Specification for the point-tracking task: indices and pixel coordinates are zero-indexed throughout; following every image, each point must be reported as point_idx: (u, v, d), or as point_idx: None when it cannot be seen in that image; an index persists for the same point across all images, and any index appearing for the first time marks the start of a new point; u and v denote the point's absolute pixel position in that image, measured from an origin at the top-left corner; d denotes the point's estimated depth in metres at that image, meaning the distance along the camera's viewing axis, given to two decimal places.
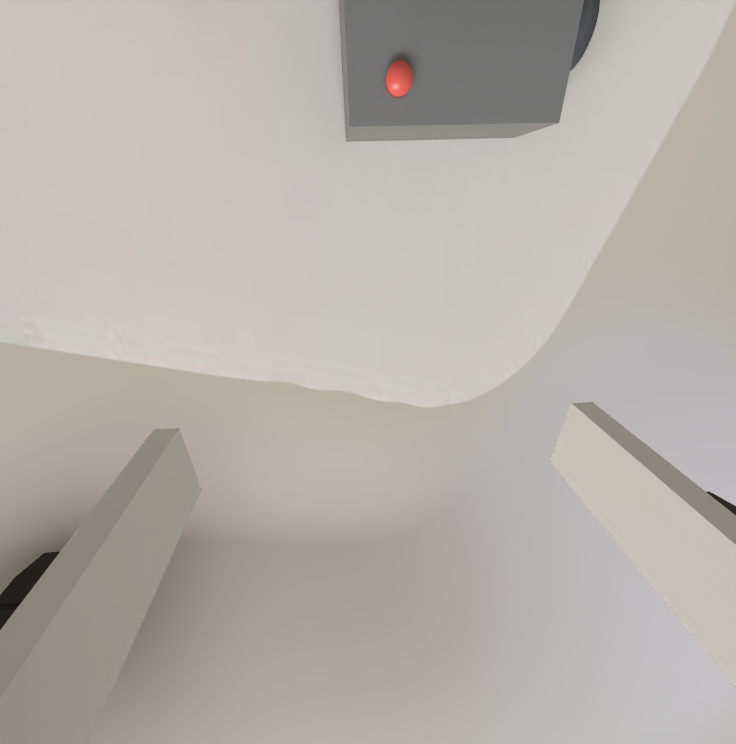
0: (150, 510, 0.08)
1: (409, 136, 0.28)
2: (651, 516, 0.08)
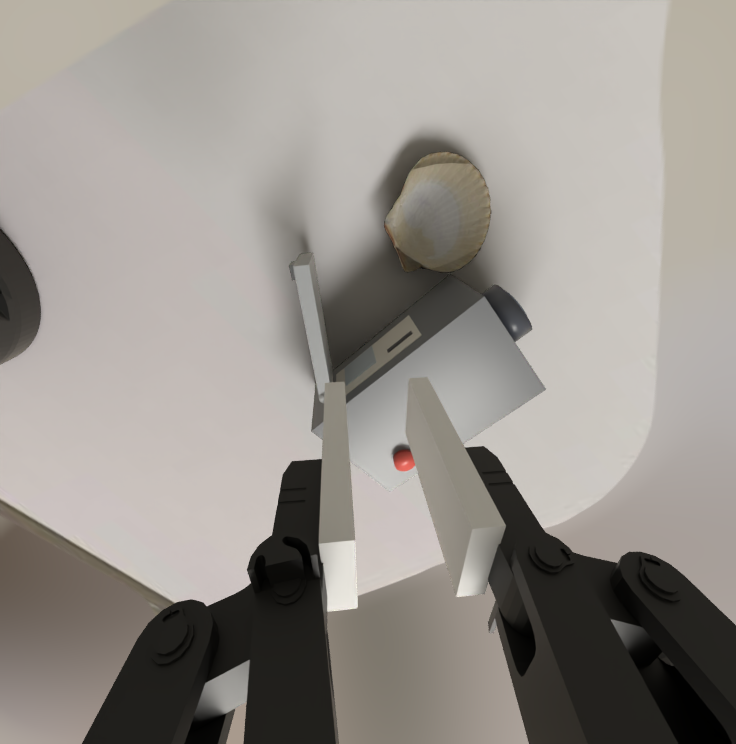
0: None
1: None
2: (431, 466, 0.10)
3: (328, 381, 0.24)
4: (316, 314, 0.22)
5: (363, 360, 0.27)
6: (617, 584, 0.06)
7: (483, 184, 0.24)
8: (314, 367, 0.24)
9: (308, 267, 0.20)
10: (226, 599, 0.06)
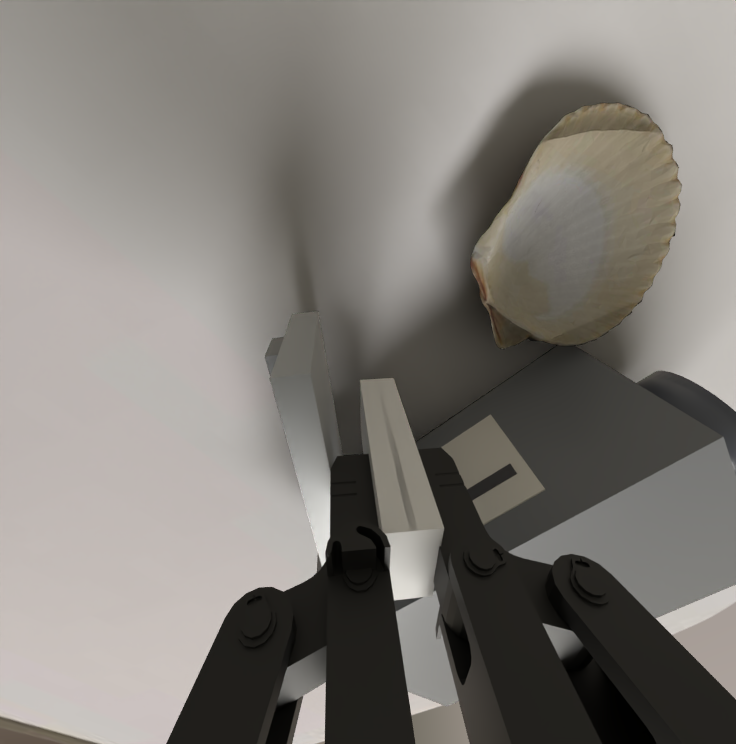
0: None
1: None
2: None
3: None
4: (327, 468, 0.10)
5: None
6: (550, 591, 0.06)
7: (670, 177, 0.12)
8: (321, 553, 0.11)
9: (309, 378, 0.08)
10: (295, 586, 0.06)
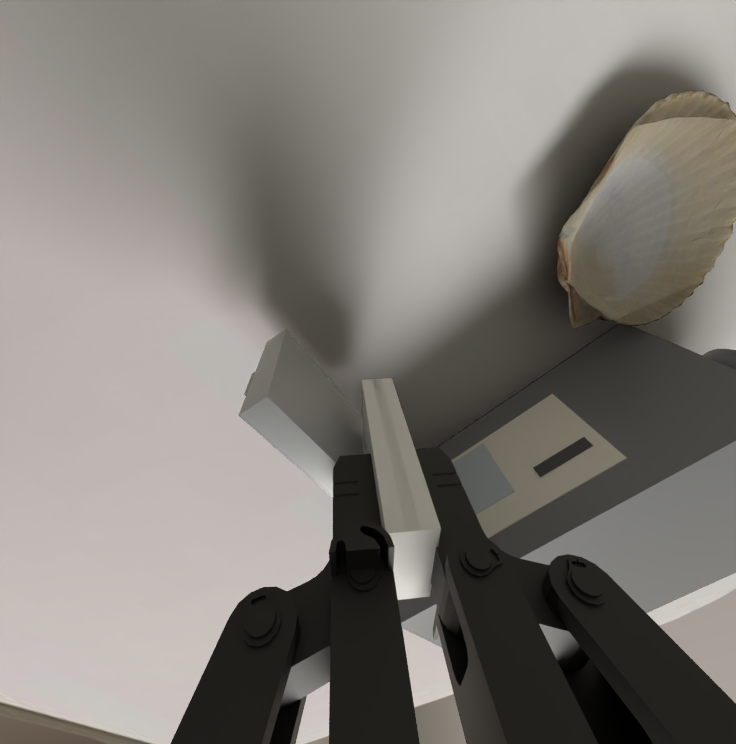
0: None
1: None
2: None
3: None
4: None
5: (476, 475, 0.15)
6: (547, 592, 0.06)
7: None
8: None
9: (270, 401, 0.09)
10: (299, 586, 0.06)
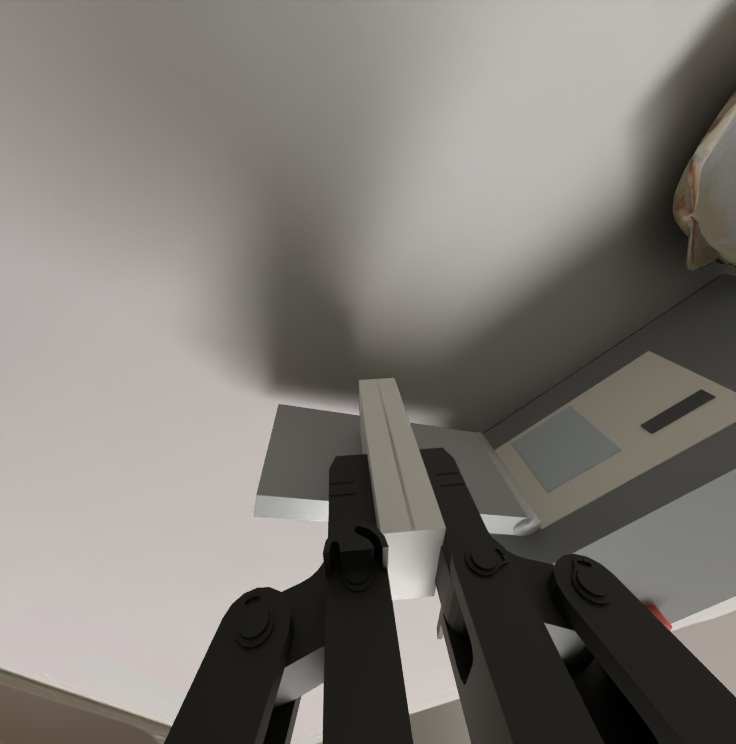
0: None
1: None
2: None
3: (498, 516, 0.12)
4: None
5: (568, 437, 0.14)
6: (552, 591, 0.06)
7: None
8: None
9: (262, 495, 0.10)
10: (293, 587, 0.06)
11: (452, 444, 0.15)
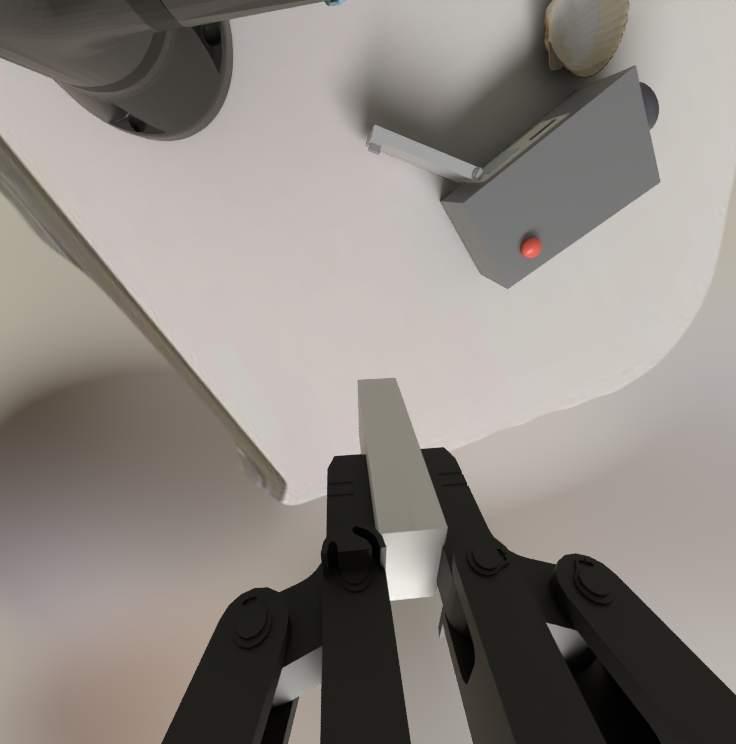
0: None
1: None
2: None
3: (465, 163, 0.28)
4: (410, 140, 0.27)
5: (500, 157, 0.31)
6: (554, 591, 0.06)
7: None
8: (448, 168, 0.28)
9: (376, 126, 0.27)
10: (292, 587, 0.06)
11: None
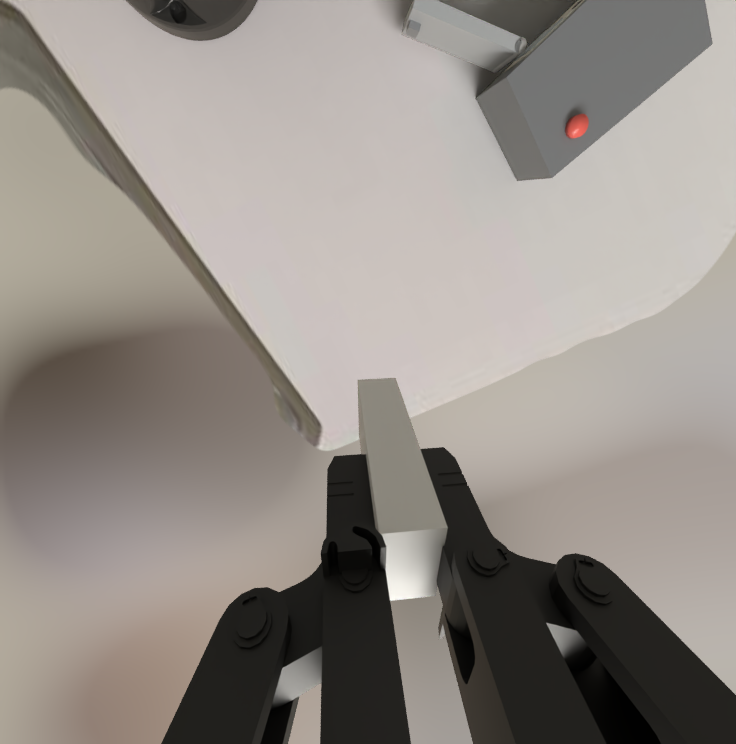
0: None
1: None
2: None
3: (508, 33, 0.28)
4: (452, 8, 0.27)
5: (541, 35, 0.30)
6: (554, 591, 0.06)
7: None
8: (491, 39, 0.28)
9: None
10: (292, 587, 0.06)
11: None
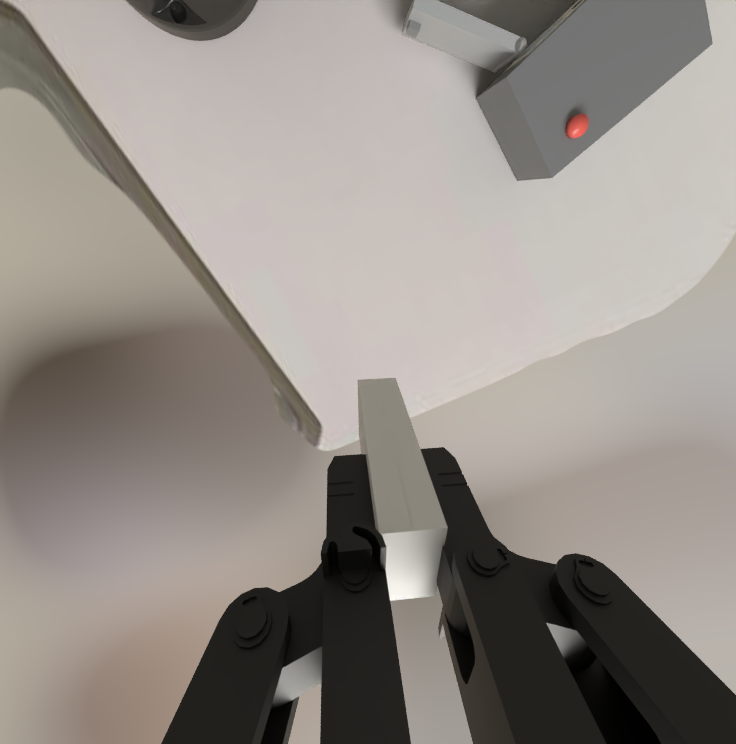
0: None
1: None
2: None
3: (508, 32, 0.28)
4: (452, 8, 0.27)
5: (541, 35, 0.30)
6: (554, 591, 0.06)
7: None
8: (491, 39, 0.28)
9: None
10: (292, 587, 0.06)
11: None
